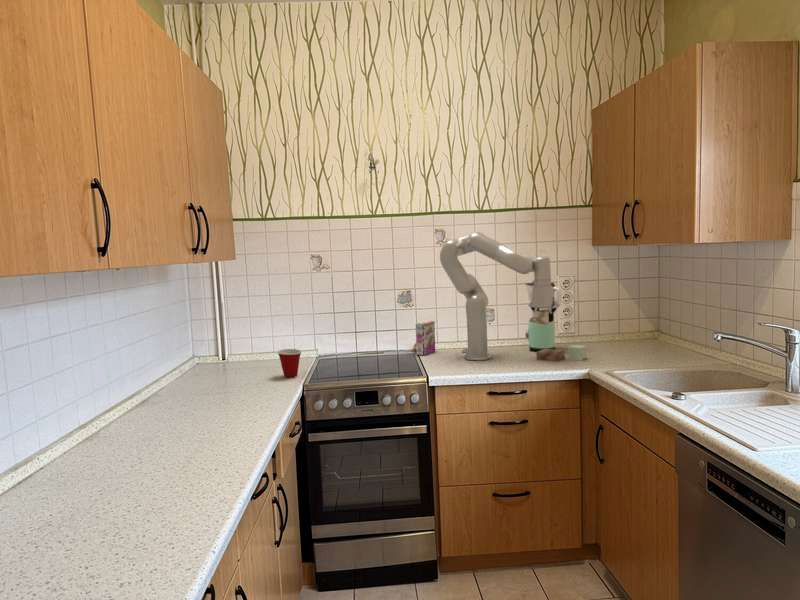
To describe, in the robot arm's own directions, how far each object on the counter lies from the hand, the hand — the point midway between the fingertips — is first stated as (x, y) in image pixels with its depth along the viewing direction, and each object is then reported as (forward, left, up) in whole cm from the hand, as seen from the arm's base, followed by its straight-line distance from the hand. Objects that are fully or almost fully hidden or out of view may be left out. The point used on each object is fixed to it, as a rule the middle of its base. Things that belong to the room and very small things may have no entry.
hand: (544, 321), depth 280 cm
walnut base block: (+2, +2, -19) cm, 19 cm away
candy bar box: (-59, -15, -18) cm, 64 cm away
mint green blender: (-10, +19, -18) cm, 29 cm away
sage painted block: (+13, +7, -18) cm, 23 cm away
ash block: (0, 0, -1) cm, 1 cm away
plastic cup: (-83, -85, -18) cm, 120 cm away
